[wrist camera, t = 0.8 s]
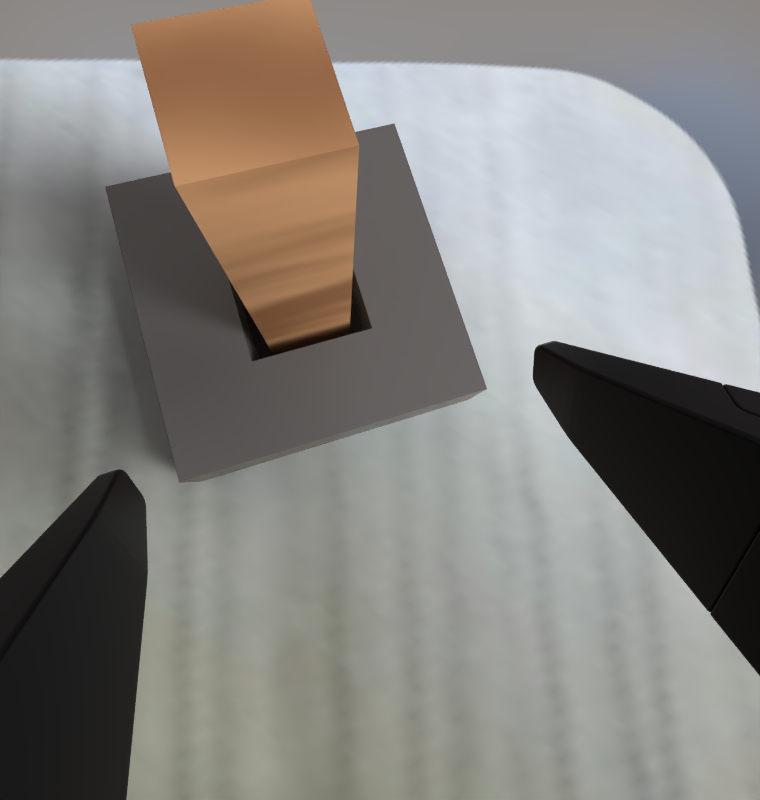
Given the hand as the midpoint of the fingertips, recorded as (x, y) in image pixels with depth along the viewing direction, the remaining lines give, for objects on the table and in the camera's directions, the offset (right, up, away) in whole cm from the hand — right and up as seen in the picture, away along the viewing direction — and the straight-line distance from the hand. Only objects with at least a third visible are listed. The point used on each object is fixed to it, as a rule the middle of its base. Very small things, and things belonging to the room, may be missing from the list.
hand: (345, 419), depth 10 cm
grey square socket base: (-3, +5, +14) cm, 15 cm away
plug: (-3, +5, +14) cm, 15 cm away
